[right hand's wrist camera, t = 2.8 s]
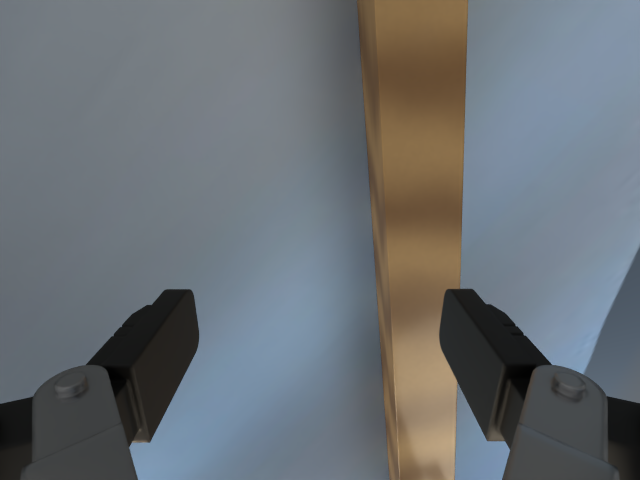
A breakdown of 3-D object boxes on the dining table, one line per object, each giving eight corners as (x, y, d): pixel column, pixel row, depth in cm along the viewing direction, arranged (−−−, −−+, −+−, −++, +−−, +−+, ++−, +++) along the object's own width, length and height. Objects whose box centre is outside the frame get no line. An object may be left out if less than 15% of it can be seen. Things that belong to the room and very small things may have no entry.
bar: (343, -195, 20) (357, -322, 14) (428, -207, 20) (478, -341, 14) (396, 590, 47) (409, 659, 42) (432, 587, 47) (449, 655, 41)
